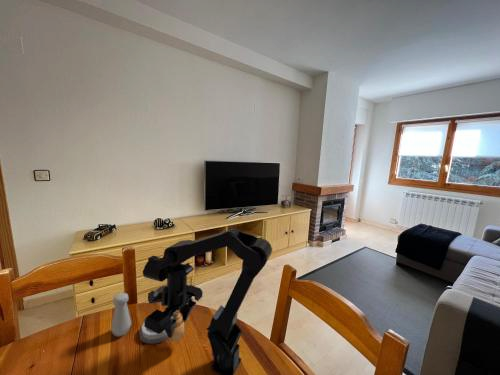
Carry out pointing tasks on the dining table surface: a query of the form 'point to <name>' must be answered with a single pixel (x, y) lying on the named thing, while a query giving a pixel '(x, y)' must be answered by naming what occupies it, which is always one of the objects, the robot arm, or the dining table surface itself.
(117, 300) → the salt shaker
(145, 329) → the grey shallow dish
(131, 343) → the dining table surface
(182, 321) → the beige tiered cylinder
